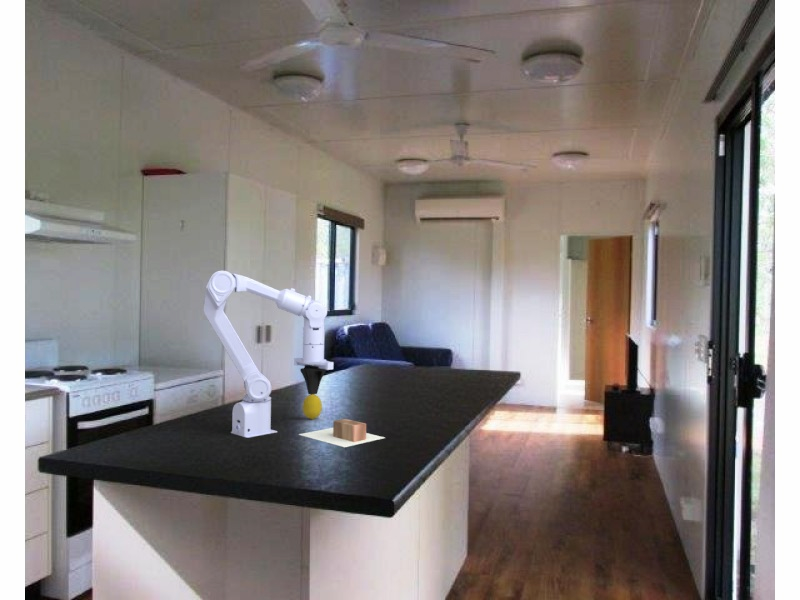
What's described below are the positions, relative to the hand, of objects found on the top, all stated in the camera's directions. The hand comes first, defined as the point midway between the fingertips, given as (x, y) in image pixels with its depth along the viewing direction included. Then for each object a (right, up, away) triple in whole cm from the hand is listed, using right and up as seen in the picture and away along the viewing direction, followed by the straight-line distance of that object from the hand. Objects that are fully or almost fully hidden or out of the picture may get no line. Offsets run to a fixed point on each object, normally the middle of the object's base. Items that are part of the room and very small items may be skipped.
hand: (312, 393), depth 157 cm
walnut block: (+8, -8, -7) cm, 13 cm away
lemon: (-2, -10, +13) cm, 16 cm away
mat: (+9, -10, -8) cm, 16 cm away
